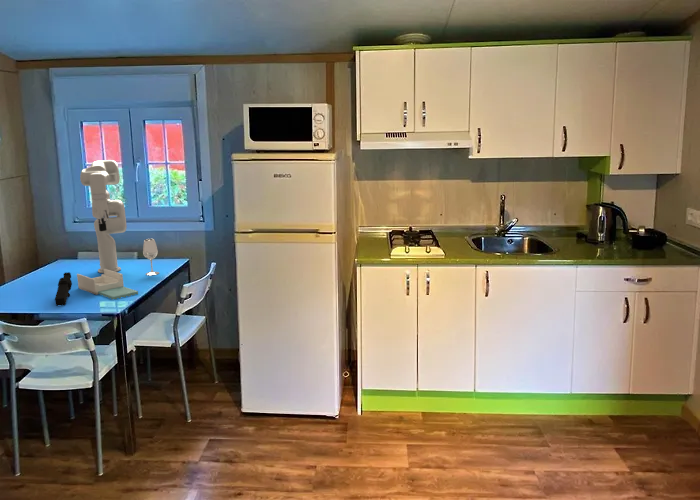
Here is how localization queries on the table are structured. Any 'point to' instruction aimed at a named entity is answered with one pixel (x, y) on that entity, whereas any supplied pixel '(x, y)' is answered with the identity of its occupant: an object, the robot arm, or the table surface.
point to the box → (100, 282)
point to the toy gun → (63, 289)
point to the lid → (118, 292)
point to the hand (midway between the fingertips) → (103, 230)
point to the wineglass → (150, 253)
